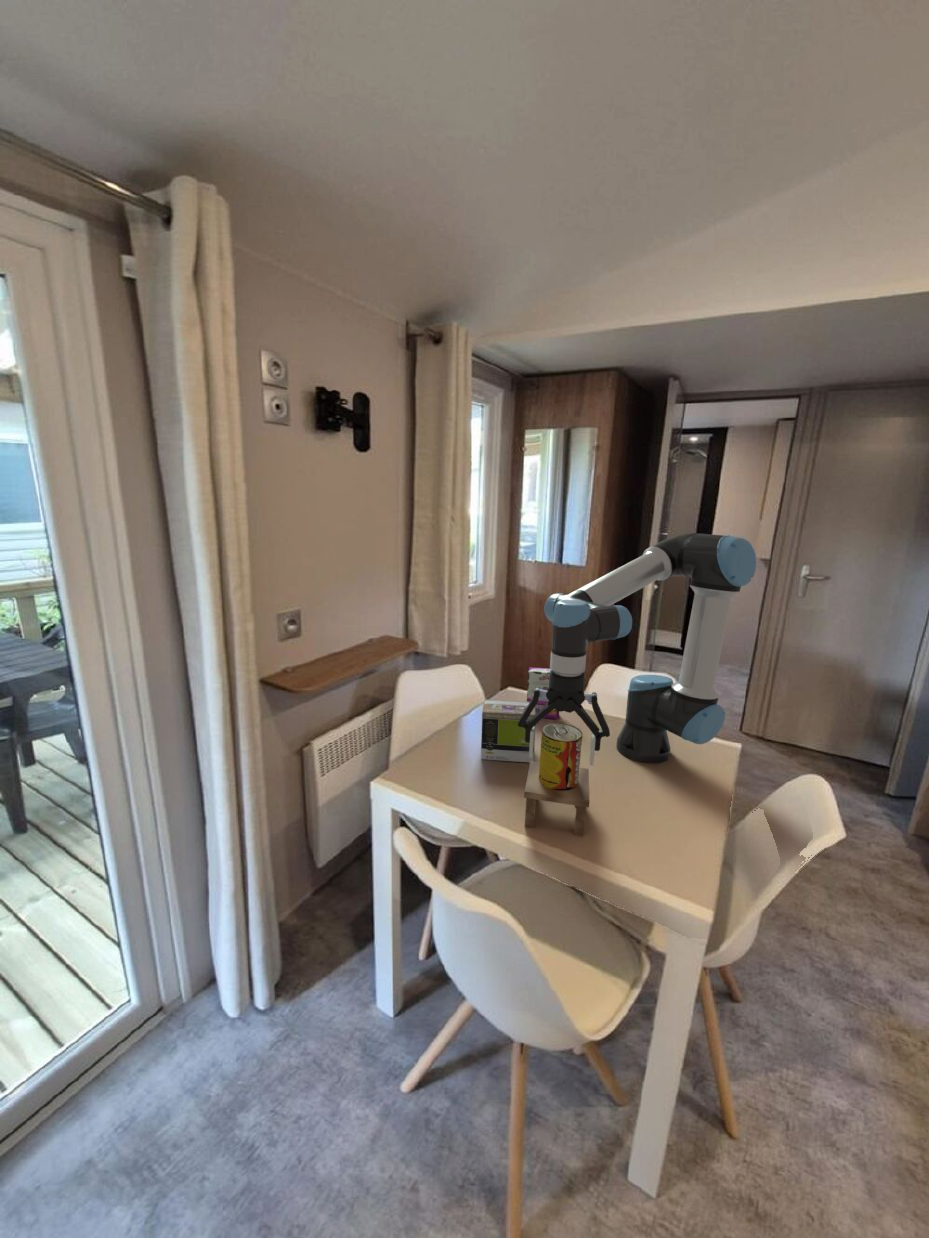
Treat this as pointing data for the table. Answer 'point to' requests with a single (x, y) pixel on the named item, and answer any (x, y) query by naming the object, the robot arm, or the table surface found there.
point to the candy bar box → (541, 680)
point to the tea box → (504, 731)
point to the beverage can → (560, 756)
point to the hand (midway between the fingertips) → (560, 758)
